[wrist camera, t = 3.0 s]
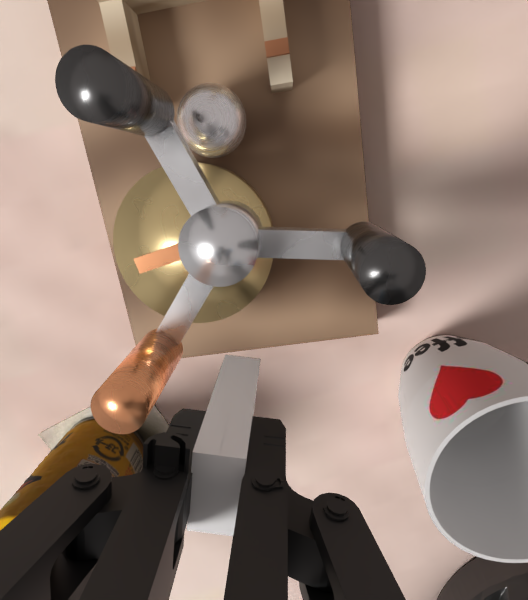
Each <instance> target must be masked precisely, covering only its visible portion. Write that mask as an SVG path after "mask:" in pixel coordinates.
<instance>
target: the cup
mask: <svg viewBox="0 0 528 600" xmlns="http://www.w3.org/2000/svg"><path fill="white" fill-rule="evenodd" d="M398 399H399V406H400V412H401V418H402V425H403V431H404V437H405V442H406V446H407V449H408V452H409V455H410V458H411V461H412V464H413V467H414V470H415V473H416V476H417V479H418V482H419V485H420V488H421V491H422V494H423V497H424V500H425V503H426V506H427V509H428V512H429V515H430V517H431V519H432V521H433V523H434V524H435V526H436V527H437V529H438V530H439V531H440V532H441V534H442V535H443V536H444V537H445V538H446V539H447V540H449V541H450V542H451V543H452V544H454V545H455V546H457V547H458V548H460V549H461V550H463V551H465V552H467V553H469V554H472V555H474V556H477V557H480V558H483V559H487V560H491V561H497V562H505V563H527V562H528V363H527V362H525V361H523V360H521V359H518V358H516V357H514V356H512V355H510V354H508V353H506V352H503V351H501V350H499V349H497V348H495V347H493V346H491V345H489V344H486V343H483V342H480V341H476V340H471V339H466V338H461V337H456V336H451V335H441V336H435V337H431V338H428V339H426V340H424V341H422V342H420V343H419V344H417V345H416V346H415V347H414V348H413V349H412V350H411V351H410V352H409V353H408V354H407V356H406V358H405V359H404V362H403V364H402V368H401V374H400V383H399V393H398Z"/></svg>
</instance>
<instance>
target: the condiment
mask: <svg viewBox="0 0 528 600" xmlns="http://www.w3.org/2000/svg"><path fill="white" fill-rule="evenodd" d="M168 427H169V425H168V424H167V422H166V421H165V418H164V417H163V416H162V415H161V414H160V412H159V411H158V410H157V408H156V407H155V406H153V408H152V409H151V411H150V413H149V415H148V416H147V418H146V420H145V422H144V423H143V425H142V426H141V427H140V428H139V429H138V430H136V431H134V432H132V433H129V434H116V433H112V432H109V431H107V430H105V429H104V428H102V427H101V426H100V425H99V424H98V423H97V422H96V420H95V419H94V417H93V415H92V412H91V407H89V408H87V409H85V410H83V411H81V412H79V413H77V414H75V415H74V416H72V417H70V418H68V419H66V420H64V421H62V422H60V423H58V424H56V425H55V426H52V427H50V428H49V429H47V430H45V431H43V432H41V433H40V434H38V435H39V436H40V437H41V438H42V440H43V441H44V442H45V444H46V445H47V446H48V447H49V448H50V449H51V452H50V453H49V454H48V456H46V457H45V458H44V460H43V461H42V462H41V463H40V464H39V465H38V467H37V468H36V469H35V471H34V472H33V473H32V474H31V476H30V477H29V478H28V479H27V480H26V481H25V482H24V484H23V485H22V486H21V487H20V488H19V490H18V491H16V493H15V494H14V495H13V497H12V498H11V499H10V500H9V501H8V502H7V503H6V504H5V505H4V507H3V508H2V509H1V510H0V530H2V529H3V528H4V527H5V526H6V525H7V524H8V523H9V522H11V521H12V520H13V519H14V518H15V517H16V516H17V515H19V514H20V513H21V512H22V511H23V510H24V509H25V508H27V507H28V506H29V505H30V504H31V503H32V502H33V501H34V500H36V499H37V498H38V497H39V496H40V495H41V494H42V493H44V492H45V491H46V490H47V489H48V488H49V487H50V486H52V485H53V484H54V483H55V482H56V481H57V480H58V479H59V478H61V477H62V476H63V475H64V474H65V473H67V472H68V471H70V470H71V469H73V468H75V467H78V466H81V465H84V464H98V465H103V466H104V467H106V468H108V469H109V470H110V472H111V474H112V477H119V476H127V475H132V474H135V473H138V472H141V470H142V468H143V443H144V442H145V441H146V440H147V439H148V438H149V437H151V436H153V435H155V434H159V433H163V432H167V429H168Z"/></svg>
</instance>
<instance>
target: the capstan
mask: <svg viewBox="0 0 528 600" xmlns="http://www.w3.org/2000/svg"><path fill="white" fill-rule="evenodd" d="M55 83H56V89H57V93H58V96H59V98H60V100H61V102H62V104H63V105H64V107H65V108H66V109H67V110H68V111H69V112H70V113H71V114H72V115H74V116H75V117H77V118H78V119H80V120H83V121H86V122H90V123H94V124H98V125H102V126H106V127H109V128H113V129H117V130H121V131H125V132H129V133H133V134H137V135H141V136H145V138H146V140H147V141H148V143H149V145H150V147H151V148H152V150H153V152H154V153H155V155H156V157H157V159H158V160H159V162H160V164H161V165H162V167H160V168H158V169H156V170H153V171H151V172H150V173H148V174H147V175H145V176H144V177H142V178H141V179H140V180H139V181H138V182H137V183H135V184H134V186H133V187H132V188H131V189H130V190H129V191H128V193H127V194H126V196H125V197H124V199H123V201H122V203H121V205H120V207H119V209H118V212H117V215H116V219H115V223H114V230H113V246H114V253H115V258H116V262H117V265H118V267H119V270H120V272H121V274H122V276H123V278H124V280H125V282H126V283H127V285H128V286H129V288H130V289H131V290H132V292H133V293H134V294H135V295H136V296H137V297H138V298H139V299H140V300H141V301H142V302H143V303H144V304H145V305H147V306H148V307H150V308H151V309H152V310H154V311H156V312H158V313H159V314H161V315H163V316H165V317H164V319H163V320H162V322H161V324H160V326H159V327H158V329H154V330H151V331H150V332H148V333H147V334H146V335H145V336H144V337H143V339H142V340H141V341H140V342H139V343H138V344H137V345H136V347H135V348H134V349H133V350H132V351H131V352H130V353H129V355H128V356H127V357H126V358H125V359H124V360H123V361H122V363H121V364H120V365H119V366H118V367H117V368H116V370H115V371H114V372H113V373H112V374H111V375H110V376H109V378H108V379H107V380H106V381H105V382H104V383H103V384H102V386H101V387H100V388H99V389H98V390H97V391H96V392H95V394H94V395H93V397H92V400H91V412H92V415H93V417H94V419H95V420H96V422H97V423H98V424H99V425H100V426H101V427H102V428H104V429H105V430H107V431H109V432H112V433H116V434H129V433H132V432H134V431H136V430H138V429H139V428H140V427H141V426H142V425H143V423H144V422H145V420H146V418H147V416H148V415H149V413H150V411H151V409H152V408H153V406H154V404H155V402H156V401H157V399H158V397H159V395H160V394H161V392H162V390H163V388H164V387H165V385H166V383H167V381H168V380H169V378H170V376H171V374H172V373H173V371H174V369H175V367H176V366H177V364H178V362H179V361H180V359H181V357H182V354H183V345H182V342H181V341H182V339H183V338H184V336H185V334H186V333H187V331H188V329H189V327H190V326H191V324H192V323H208V322H214V321H218V320H222V319H224V318H227V317H230V316H232V315H233V314H235V313H237V312H239V311H240V310H242V309H243V308H244V307H246V306H247V305H248V304H249V303H250V302H251V301H252V300H253V299H254V298H255V297H256V296H257V295H258V293H259V292H260V291H261V289H262V287H263V286H264V284H265V282H266V280H267V278H268V275H269V273H270V269H271V265H272V261H273V258H286V259H319V260H344V261H345V262H346V264H347V265H348V267H349V268H350V270H351V271H352V273H353V275H354V276H355V278H356V279H357V281H358V282H359V284H360V285H361V287H362V288H363V290H364V291H365V293H366V294H367V295H368V296H369V297H370V298H371V299H373V300H374V301H376V302H378V303H381V304H386V305H395V304H400V303H403V302H405V301H407V300H409V299H410V298H412V297H413V296H414V295H415V294H416V293H417V292H418V291H419V290H420V288H421V287H422V285H423V282H424V280H425V275H426V267H425V262H424V260H423V257H422V256H421V254H420V253H419V252H418V251H417V250H416V249H415V248H414V247H412V246H411V245H409V244H407V243H406V242H404V241H402V240H401V239H399V238H397V237H395V236H394V235H392V234H390V233H389V232H387V231H385V230H384V229H382V228H380V227H378V226H377V225H375V224H373V223H370V222H357V223H354V224H352V225H351V226H349V227H348V228H347V229H327V228H290V227H273V224H272V220H271V216H270V214H269V211H268V209H267V207H266V205H265V203H264V202H263V200H262V198H261V197H260V196H259V194H258V193H257V191H256V190H255V189H254V188H253V187H252V186H251V185H250V184H249V183H248V182H247V181H245V180H244V179H243V178H242V177H240V176H239V175H237V174H235V173H234V172H232V171H230V170H227V169H225V168H223V167H220V166H216V165H213V164H206V163H198V162H197V160H196V159H195V157H194V155H193V153H192V152H191V150H190V148H189V146H188V144H187V143H186V141H185V139H184V137H183V136H182V134H181V132H180V130H179V128H178V127H177V125H176V123H175V121H174V105H173V102H172V100H171V98H170V96H169V95H168V94H167V93H166V92H165V91H164V90H163V89H162V88H160V87H159V86H157V85H156V84H154V83H153V82H152V81H150V80H149V79H147V78H146V77H144V76H143V75H141V74H140V73H138V72H137V71H135V70H134V69H132V68H131V67H129V66H128V65H126V64H125V63H123V62H122V61H120V60H119V59H117V58H116V57H114V56H113V55H111V54H110V53H108V52H107V51H105V50H104V49H102V48H100V47H98V46H94V45H79V46H76V47H74V48H72V49H70V50H69V51H67V52H66V53H65V54H64V55H63V57H62V58H61V60H60V62H59V64H58V66H57V70H56V76H55Z"/></svg>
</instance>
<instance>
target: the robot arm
mask: <svg viewBox="0 0 528 600" xmlns="http://www.w3.org/2000/svg"><path fill="white" fill-rule="evenodd" d="M259 366H260V359H257V358H249V357H241V356H232V355H225V357H224V360H223V363H222V366H221V369H220V372H219V375H218V378H217V381H216V384H215V387H214V390H213V393H212V396H211V399H210V402H209V405H208V408H207V411H199V410H191V409H182V410H181V411H179V412H178V413H177V414H175V415H174V416H173V419H172V421H171V423H170V426H169V427H168V429H167V432H163V433H159V434H155V435H153V436H151V437H149V438H148V439H147V440H146V441H145V442H144V443H143V468H142V470H141V472H138V473H135V474H132V475H127V476H119V477H112V474H111V472H110V470H109V469H108V468H106V467H104V466H103V465H98V464H84V465H81V466H78V467H75V468H73V469H71V470H70V471H68V472H67V473H65V474H64V475H63V476H62V477H61V478H59V479H58V480H57V481H56V482H55V483H54V484H53V485H52V486H50V487H49V488H48V489H47V490H46V491H45V492H44V493H42V494H41V495H40V496H39V497H38V498H37V499H36V500H34V501H33V502H32V503H31V504H30V505H29V506H28V507H27V508H25V509H24V510H23V511H22V512H21V513H20V514H19V515H17V516H16V517H15V518H14V519H13V520H12V521H11V522H9V523H8V524H7V525H6V526H5V527H4V528H3V529H2V530H0V600H169V596H170V593H171V589H172V586H173V582H174V578H175V575H176V571H177V567H178V564H179V560H180V556H181V553H182V549H183V543H184V531H185V528H186V524H187V530H188V531H196V532H203V533H211V534H219V535H226V536H233V542H232V548H231V555H230V562H229V568H228V575H227V581H226V588H225V595H224V600H288V576H289V577H291V578H293V579H295V580H297V581H299V586H300V591H301V594H302V598H303V600H406V599H405V597H404V595H403V593H402V592H401V590H400V588H399V586H398V584H397V582H396V580H395V578H394V576H393V574H392V572H391V570H390V568H389V566H388V564H387V562H386V560H385V558H384V556H383V554H382V552H381V551H380V549H379V547H378V545H377V543H376V541H375V539H374V537H373V535H372V533H371V531H370V529H369V527H368V525H367V523H366V521H365V519H364V517H363V515H362V513H361V511H360V510H359V508H358V507H357V506H356V504H355V503H354V502H353V501H351V500H350V499H349V498H347V497H345V496H342V495H340V494H336V493H325V494H321V495H319V496H318V497H316V498H315V499H314V501H313V500H310V499H307V498H305V497H303V496H301V495H299V494H297V493H296V492H295V491H293V490H292V489H291V487H290V486H289V485H288V483H287V481H286V448H285V447H286V428H285V427H284V425H283V424H282V422H281V420H279V419H271V418H263V417H255V416H254V409H255V400H256V392H257V383H258V375H259ZM187 521H188V522H187ZM437 600H528V562H527V563H505V562H497V561H491V560H487V559H483V558H480V557H477V558H475V559H474V560H472V561H471V562H469V563H468V564H466V565H465V566H464V567H462V568H461V569H460V570H459V571H458V572H457V573H456V574H454V575H453V576H452V578H451V579H450V580H449V581H448V582H447V584H446V585H445V586H444V588H443V589H442V591H441V592H440V594H439V596H438V598H437Z"/></svg>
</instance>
